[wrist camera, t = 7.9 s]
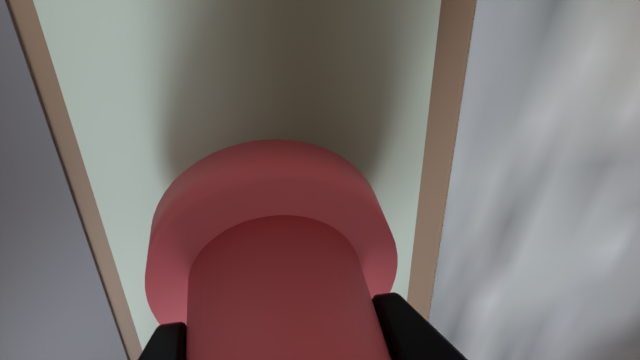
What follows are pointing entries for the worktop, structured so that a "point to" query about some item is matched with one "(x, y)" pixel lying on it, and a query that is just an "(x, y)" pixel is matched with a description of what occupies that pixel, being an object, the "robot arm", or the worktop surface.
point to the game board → (202, 137)
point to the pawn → (272, 256)
